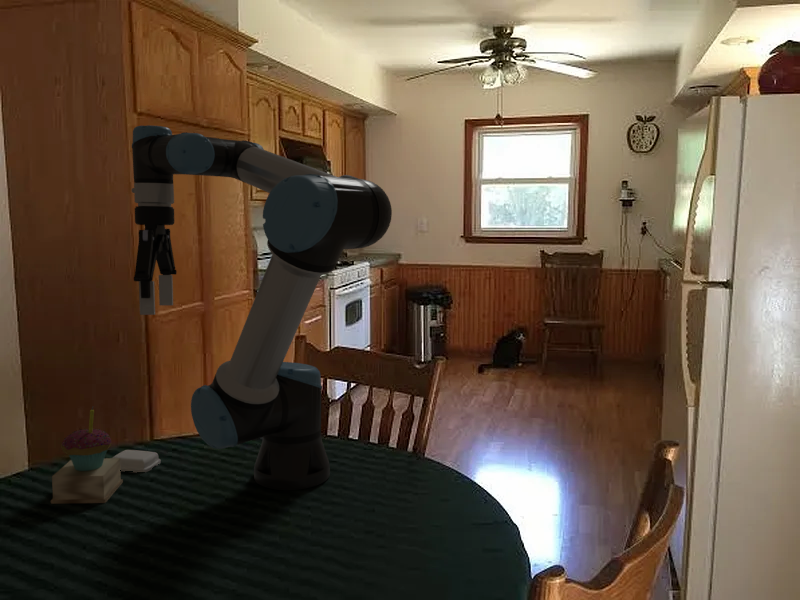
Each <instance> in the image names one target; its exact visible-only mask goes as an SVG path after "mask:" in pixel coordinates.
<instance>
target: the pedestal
mask: <svg viewBox="0 0 800 600" xmlns="http://www.w3.org/2000/svg"><path fill="white" fill-rule="evenodd" d="M121 476H122V475H121V471H120V458H113V457H109V458H108V457H106V458H105V457H104V460H103V464H102V466H101V467H100V468H98V469H95V470H90V471H78V470H76V469H75V468H74V465H73V463H72V460H71V459H69V461H68V462H67V463H65V464H64V465H63V466H62V467H61V468H59V470H57V472H55V473H54V474H52V476H51V481H52V482H51V483H52V499H51V500H50V504H52V505H53V504H56V505H57V504H58V505H59V504H106V503H107V502H108V500H110V498H111V497H112V496H113V494H115V493H116V491H117V490H118V489H119V488H120V486H121V485H122V484H123V483H124V479H123V478H122V479H121Z"/></svg>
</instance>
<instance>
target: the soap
mask: <svg viewBox="0 0 800 600" xmlns="http://www.w3.org/2000/svg"><path fill="white" fill-rule="evenodd" d="M112 458H120V470H121V471H120V472H125V471H133V472H132V473H137V472H145V473H147V472H149V471H152V470H153V469H152V468H154V467H157V466H159V465H160V464H161V463H162V462H161V459H160V458H159V454H158V453H157V452H155V451H147V450H136V449H125V450H122V451H120V452H119V453H117V454H116V455H114V456H113V457H112ZM158 464H159V465H158Z"/></svg>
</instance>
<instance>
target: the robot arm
mask: <svg viewBox="0 0 800 600" xmlns="http://www.w3.org/2000/svg"><path fill="white" fill-rule="evenodd" d="M131 151H132V170H133V171H132V172H133V188H131V193H132V194H133V195H134V203H136V204H137V206H135V207H134V222H135V224H136V225H138V226H144V229H139V230H138V246H137V254H136V262H135V270H134V276H133V281H134V282H138V293H139V294H138V295H139V296H138V299H139V302H138V303H139V315H140V316H146V315H147V316H150V315H151V316H154V315H156V303H155V302H156V299H155V297H156V296H155V294H156V293H155V291H156V290H155V281H154V280H153V278H154V272H155V268H156V263H157V266H158V269H159V274H158V299H159V300H158V301H159V302H158V303H159V304H158V305H159V306H174V286H173V285H174V283H173V280H174V279H173V275H177V269H176V265H175V259H174V253H173V246H172V240H171V229H170V228H166V227H165V226H173V225H174V224H175V208H174V207H173V206H172V205H173V204H174V203H175V193H174V191H175V189H174V188H175V187H174V175H189V176H190V175H191V176H204V177H205V176H207V177H221V178H222V177H223V178H232V179H235V180H237V181H240V182H242V183H245V184H247V185H250V186H252V187H255V188H257V189H259V190H261V191H264V192H266V193H269V194H268V195H267V198H266V200H265V202H264V206H263V209H262V219H263V220H265V221H264V223H263V224H262V228H263V232H264V235H265V237H266V238H267V243H266V245H267V248H268V250H269V252H270V253H271V257H270V259H269V263H268V265H267V267H266V269H265V272H264V275H263V277H262V280H261V282H260V284H259V287H258V290H257V293H256V294H255V298H254V300H253V303H252V305H251V307H250V310H249V312H248V315H247V317H246V320H245V322H244V325H243V328H242V330H241V332H240V335H239V338H238V341H237V342H236V345H235V347H234V350H233V351H232V356H231V357H230V360H227V361H225V362H223V363H222V364H220V365H219V367H217V370H216V373H215V374H214V377H213V379H212V382H211V383H210V384H209V385H207V384H204V385H202V386H201V387H198V388H196V389H195V390H194V391H193V393H192V395H191V396H192V397H191V400H190V411H191V414H190V415H191V417H192V421H193V425H194V426H195V429H196V432H197V433H198V435H199V436H200V438H201V439H202V441H204V443H206V445H208V446H209V447H211V448H213V449H217V450H221V449H227V448H234V447H236V446H238V445H241V444H245V443H247V442H251V441H254V440H257V439H260V438H262V441H261V444H260V447H259V451H258V454H257V457H256V460H255V463H254V467H253V478H254V479H253V480H254V481H255V483H256V484H258V485H260V486H261V487H264V488H268V489H271V490H278V491H279V490H280V491H296V490H297V491H298V490H304V489H309V488H313V487H316V486H318V485H321V484H323V483H324V482H326V481H327V480H328V479H329V478H330V472H331V469H330V468H331V467H330V461H329V457H328V454H327V453H326V452H327V451H326V448H325V445H324V443H323V440H322V391H323V390H322V389H323V386H322V379H321V378H322V377H321V371H320V370H319V369H318V368H317V367H316V366H313V365H311V364H306V363H300V362H291V361H290V362H289V361H284V360H285V357H286V356H287V353H288V351H289V349H290V347H291V344H292V342H293V340H294V338H295V335H296V333H297V332H298V329H299V326H300V325H301V323H302V320H303V317H304V315H305V313H306V310H307V309H308V306H309V303H310V302H311V299H312V297H313V295H314V293H315V290H316V287H317V285H318V284H319V282H320V279H321V277H322V276H324V275H326V274H327V275H328V274H330V273H332V272H333V271H334V270H335V268H336V266H337V263H338V261H339V259H340V257H341V255H342V252H343V251H344V250H355V249H363V248H367V247H370V246H372V245H374V244H376V243H377V242H378V241H379V240H381V239H382V238H383V237H384V236H385V234H386V233H387V231H388V229H389V228H390V225H391V222H392V215H393V214H392V213H393V212H392V211H393V210H392V204H391V201H390V199H389V197H388V195H387V193H386V192H385V190H384V189H383V188H382V187H381V186H379V184H377V183H375V182H373V181H371V180H366V179H362V178H358V177H355V176H354V175H349V174H343V175H340V176H336V175H333V174H330V173H328V172H325V171H322V170H320V169H316V168H315V167H312V166H309V165H306V164H304V163H300V162H298V161H295V160H294V159H290V158H287V157H285V156H282V155H278V154H276V153H275V152H271V151H268V150H265V148H264V147H263V145H260V144H259V143H257V142H252V141H249V140H236V139H235V140H234V139H225V138H218V137H209V136H205V135H203V134H201V133H198V132H181V133H176V134H173V132H172V130H171V129H170V128H169V127H166V126H161V125H150V124H149V125H148V124H147V125H138V126H135V127H134V128H133V130H132V143H131Z"/></svg>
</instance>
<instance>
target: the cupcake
mask: <svg viewBox="0 0 800 600" xmlns="http://www.w3.org/2000/svg"><path fill="white" fill-rule="evenodd" d="M94 414H95V409H94V406H92V407H91V409H90V410H89V421H88V422H89V423H88V428H87V429H86V428H83V429H78V430H77V429H76V430H75V431H72V433H70V434H68V435H67V436H66V437H65V438H64V439H63V441H62V442H61V445H60V448H61V451H62V452H63V453H64V454H66V455H67V456H69V459H70V460H72V463H73V465H74V468H75V469H76V470H78V471H90V470H95V469H98V468H100V467H101V466H102V464H103V460H104V458H105V457H106V454H107V452H108V450H109V448H110V447H111V446H112V439H111V435H110V434H109V433H108V432H106V430H102V429H99V428H94V418H95V417H94Z"/></svg>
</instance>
